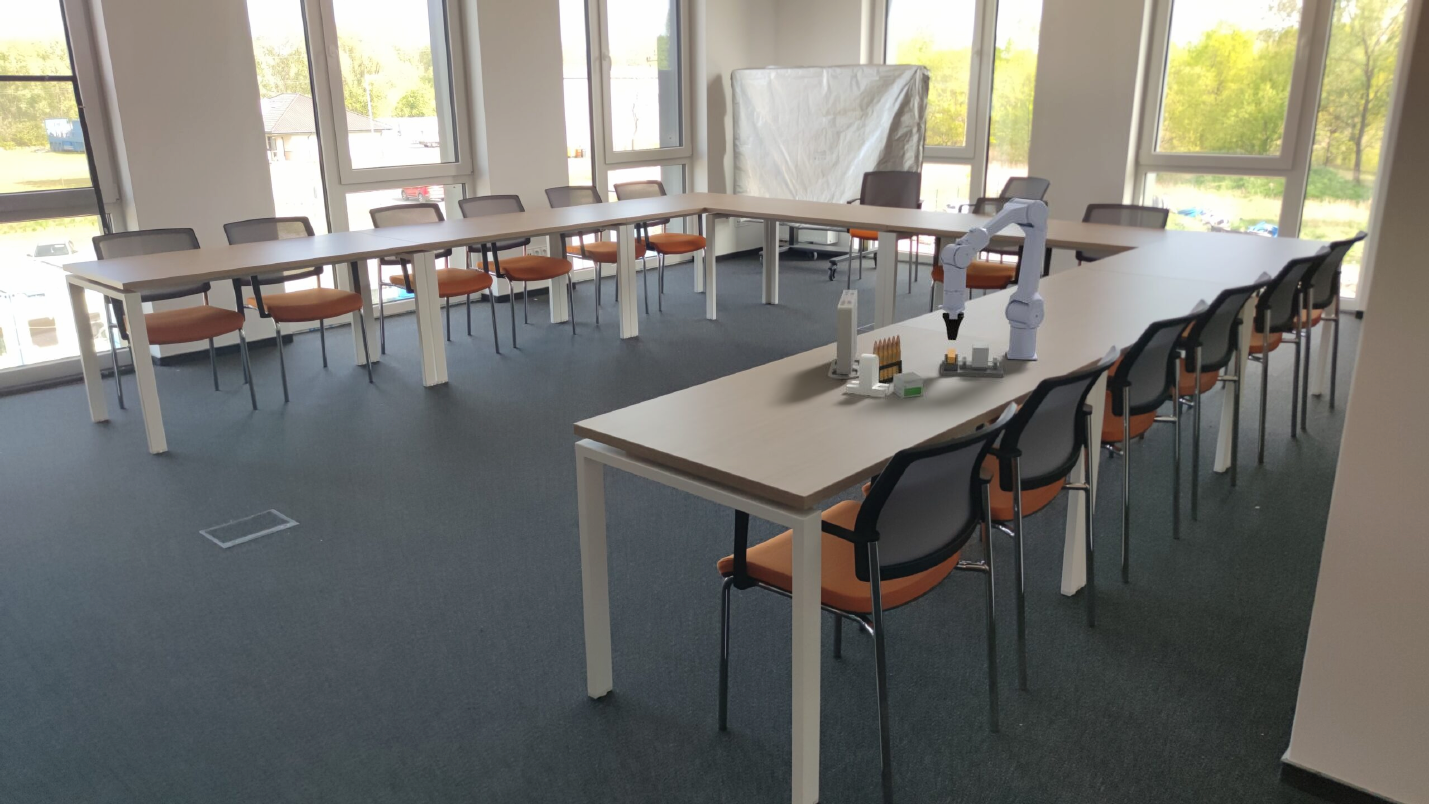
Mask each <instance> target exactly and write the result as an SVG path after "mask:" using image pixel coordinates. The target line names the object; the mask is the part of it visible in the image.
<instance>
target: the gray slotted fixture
mask: <svg viewBox="0 0 1429 804" xmlns="http://www.w3.org/2000/svg"><path fill="white" fill-rule="evenodd" d="M947 357H948V353H944V359H943V360H944V371H958V360H959V354H957V353H955V362H956V363H946V361H947ZM961 360H962V361H961V362H960V368H962V369H966V368H972V360H968V359H967V356H962V359H961ZM992 361H993V362H988V369H993V370H997V369H999V362H1000V361H998V357H992Z"/></svg>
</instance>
